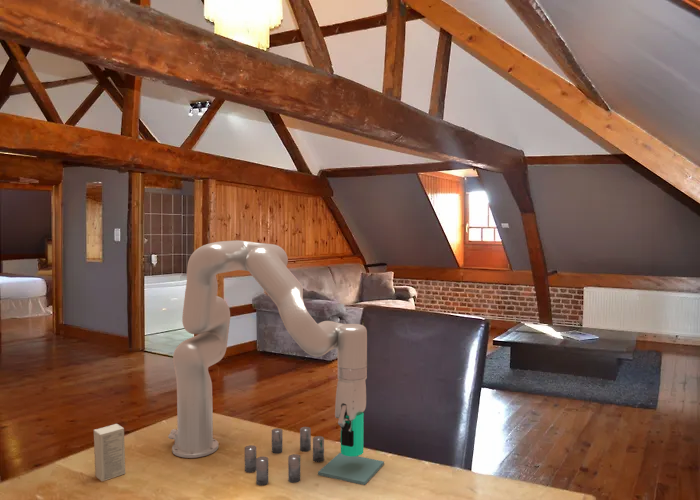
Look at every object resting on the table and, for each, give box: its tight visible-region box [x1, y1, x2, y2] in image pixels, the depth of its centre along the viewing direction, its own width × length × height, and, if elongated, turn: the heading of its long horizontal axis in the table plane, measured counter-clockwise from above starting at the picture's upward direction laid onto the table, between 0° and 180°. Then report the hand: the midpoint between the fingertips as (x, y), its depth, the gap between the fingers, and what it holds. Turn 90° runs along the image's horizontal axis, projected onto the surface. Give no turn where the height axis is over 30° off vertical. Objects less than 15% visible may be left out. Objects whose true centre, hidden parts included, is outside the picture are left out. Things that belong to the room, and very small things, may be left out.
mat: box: [317, 452, 385, 486], centre depth 151 cm, size 13×13×1 cm
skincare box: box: [93, 423, 126, 482], centre depth 146 cm, size 6×4×12 cm
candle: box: [340, 412, 365, 457], centre depth 150 cm, size 6×6×12 cm
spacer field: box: [244, 426, 325, 486], centre depth 153 cm, size 16×25×6 cm, turn 156°
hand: (351, 440), depth 150 cm, fingers closed on candle, 4 cm apart
